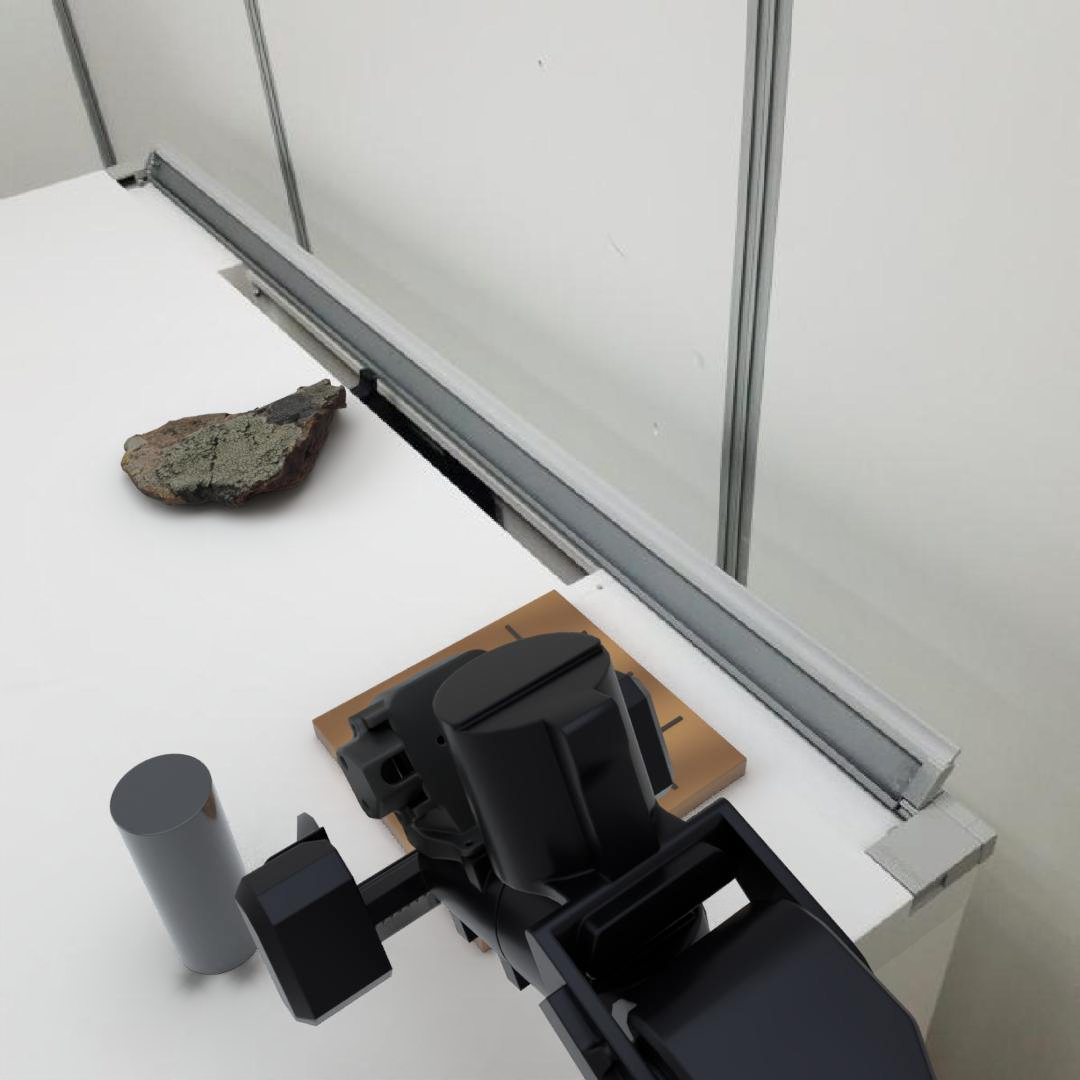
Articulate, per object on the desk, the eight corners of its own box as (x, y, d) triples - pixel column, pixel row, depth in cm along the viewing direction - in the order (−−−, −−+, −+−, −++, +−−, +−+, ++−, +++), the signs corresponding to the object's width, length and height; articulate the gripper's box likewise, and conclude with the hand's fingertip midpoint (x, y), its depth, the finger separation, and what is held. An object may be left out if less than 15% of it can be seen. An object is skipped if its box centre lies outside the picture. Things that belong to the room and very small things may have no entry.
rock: (110, 540, 93) (91, 492, 90) (134, 422, 106) (118, 376, 103) (356, 507, 95) (347, 458, 92) (350, 394, 108) (341, 348, 105)
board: (746, 773, 72) (747, 756, 71) (483, 953, 64) (481, 937, 63) (555, 603, 85) (554, 587, 84) (315, 734, 76) (310, 718, 75)
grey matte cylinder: (269, 959, 64) (215, 819, 56) (178, 985, 63) (109, 846, 55) (260, 885, 68) (208, 742, 59) (174, 908, 67) (109, 767, 58)
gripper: (703, 591, 43) (500, 538, 56) (241, 857, 35) (133, 721, 48) (773, 838, 46) (566, 732, 59) (367, 1130, 38) (234, 933, 51)
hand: (391, 772), depth 54 cm, fingers open, 9 cm apart
